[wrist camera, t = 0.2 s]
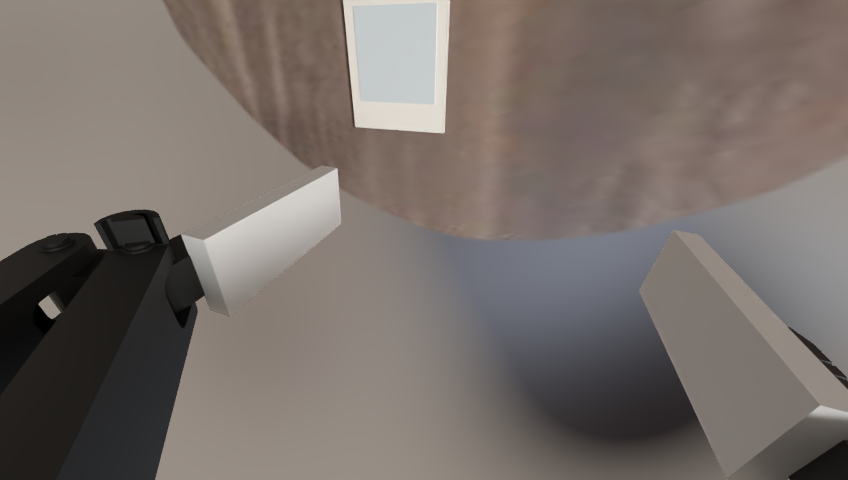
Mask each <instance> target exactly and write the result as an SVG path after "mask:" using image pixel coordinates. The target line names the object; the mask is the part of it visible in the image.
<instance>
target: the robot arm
mask: <svg viewBox="0 0 848 480" xmlns="http://www.w3.org/2000/svg"><path fill="white" fill-rule="evenodd" d="M339 200H340V199H339V185H338V171H337V168H333V167H327V166H320V167H318V168H316V169H314V170H312V171H310V172H308V173H305V174H304V175H302V176H299V177H298V178H295V179H293V180H291V181H289V182H287V183H285V184H283V185H281V186H279V187H277V188H275V189H273V190H271V191H268V192H266V193H264V194H262V195H260V196H258V197H256V198H254V199H252V200H250V201H248V202H246V203H244V204H242V205H240V206H238V207H236V208H234V209H232V210H230V211H227V212H225V213H223V214H221V215H219V216H217V217H215V218H213V219H211V220H209V221H207V222H205V223H203V224H201V225H199V226H197V227H195V228H192V229H190V230H188V231H186V232H184V233H182V234H180V235H178V236H176V237H174V238H172V239H170V240H169V238H168V235H167V233H166V231H165V228H164V226H163V223H162V221H161V218H160V216H159V214H158V213H157V212H155V211H151V210H131V211H124V212H120V213H116V214H113V215H110V216H107V217H105V218H102V219H100V220H99V221H97V222H96V223H94V225H95V227H96V229H97V231H98V232H99V234H100V236H101V238H102V240H103V242H104V243H105V245H106V247H107V249H97V248H96V246H95V244H94V242H93V241H92V239H91V237H90V236H89V235H87V234H85V233H68V234H66V233H61V234H57V235H56V234H55V235H51V236H48V237H46V238H44V239H41V240H38V241H36V242H34V243H31V244H29V245H27V246H25V247H24V248H22V249H20V250H19V251H17V252H15V253H13V254H12V255H10V256H8V257H7V258H5V259H3V260H2V261H0V480H155V477H156V473H157V469H158V466H159V462H160V458H161V454H162V450H163V446H164V442H165V438H166V434H167V430H168V426H169V422H170V418H171V414H172V411H173V407H174V403H175V399H176V395H177V391H178V387H179V383H180V379H181V375H182V371H183V367H184V364H185V360H186V356H187V351H188V348H189V344H190V340H191V336H192V332H193V328H194V324H195V320H196V316H197V312H198V311H197V306H196V303H195V302H196V301H197V300H199V299H200V298H201V297H203V296H205V298H206V301H207V303H208V306H209V309H210V310H211V311H214V312H218V313H221V314H224V315H227V316H231V315H233V314H234V313H235V312H236V311H237V310H239V309H240V308H241V307H242V306H243V305H245V304H246V303H247V302H248V301H249V300H251V299H252V298H253V297H254V296H255V295H256V294H258V293H259V292H260V291H261V290H262V289H264V288H265V287H266V286H267V285H268V284H269V283H271V282H272V281H273V280H274V279H276V278H277V277H278V276H279V275H280V274H282V273H283V272H284V271H285V270H286V269H288V268H289V267H290V266H291V265H292V264H293V263H295V262H296V261H297V260H298V259H300V258H301V257H302V256H303V255H304V254H305V253H306V252H308V251H309V250H310V249H311V248H313V247H314V246H315V245H316V244H317V243H319V242H320V241H321V240H322V239H323V238H324V237H326V236H327V235H328V234H329V233H330V232H332V231H333V230H334V229H335V228H336V227H338V226H339V225H340V224H341V213H340V201H339ZM639 292H640V294H641V296H642V298H643V300H644V303H645V305H646V307H647V309H648V311H649V313H650V316H651V318H652V320H653V322H654V324H655V326H656V329H657V331H658V333H659V335H660V337H661V339H662V341H663V344H664V346H665V347H666V350H667V352H668V354H669V357H670V359H671V361H672V363H673V365H674V367H675V369H676V371H677V374H678V376H679V378H680V380H681V382H682V384H683V386H684V389H685V391H686V393H687V395H688V397H689V400H690V401H691V404H692V406H693V408H694V410H695V412H696V415H697V417H698V419H699V421H700V423H701V425H702V427H703V430H704V432H705V434H706V436H707V438H708V440H709V443H710V445H711V447H712V449H713V451H714V453H715V455H716V458H717V460H718V462H719V464H720V466H721V468H722V470H723V472H724V475H725V477H726V479H729V480H788V479H790V480H848V381H847V377H846V376H845V375H844V374H843V373H842V372H841V371H840V370H839V369H838V368H837V367H836V366H832V362H831V361H830V360H829V359H828V358H827V357H826V356H825V355H824V354H823V353H822V352H821V351H820V350H819V349H818V348H817V347H816V346H815V345H814V344H813V343H811V342H810V341H808V340H807V339H805V338H804V337H803V336H801V335H800V334H798V333H797V332H796V331H794V330H793V329H791V328H790V327H787V326H786V325H785V324H784V323H783V322H782V321H781V320H780V319H779V318H778V317H777V316H776V315H775V314H774V313H773V312H772V310H770V308H769V307H768V306H767V305H766V304H765V303H764V302H763V301H762V300H761V299H760V298H759V297H758V296H757V295H756V294H755V293H754V292H753V291H752V290H751V289H750V288H749V287H748V286H747V285H746V283H745V282H744V281H743V280H742V279H741V278H740V277H739V276H738V275H737V274H736V273H735V272H734V271H733V270H732V269H731V268H730V267H729V266H728V265H727V264H726V263H725V262H724V261H723V260H722V259H721V258H720V256H719V255H717V253H716V252H715V251H713V249H712V248H711V247H710V246H709V245H708V244H707V243H706V242H705V241H704V240H703V239H702V238H701V237H700V236H699V235H697V234H692V233H687V232H681V231H676V230H673V232H672V233H671V235H670V237H669V239H668V240H667V242H666V244H665V246H664V247H663V249H662V251H661V253H660V254H659V256H658V258H657V260H656V261H655V263H654V265H653V267H652V269H651V270H650V272H649V274H648V276H647V277H646V279H645V281H644V283H643V284H642V286H641V288H640V290H639ZM48 295H49V297H50V298H51V299H52V301H53V302H54V304H55V305H56V306H57V308H58V309H59V310H60V312H61V313H60V314H59V315H58V316H56V317H55V318H53V319H50V318H49V317H47V315H46V314H45V313H44V311H43V310H42V309H41V307H40V306H39V305H38V304H39V302H40V301H42V300H43V299H44V298H45V297H47V296H48Z"/></svg>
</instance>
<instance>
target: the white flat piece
mask: <svg viewBox="0 0 848 480" xmlns="http://www.w3.org/2000/svg"><path fill="white" fill-rule="evenodd" d="M343 5H344V16H345V26H346V36H347V47H348V57H349V68H350V78H351V88H352V99H353V109H354V119H355V127H361V128H376V129H390V130H404V131H419V132H433V133H444V132H445V112H446V88H447V64H448V40H449V16H450V0H343Z"/></svg>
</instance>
